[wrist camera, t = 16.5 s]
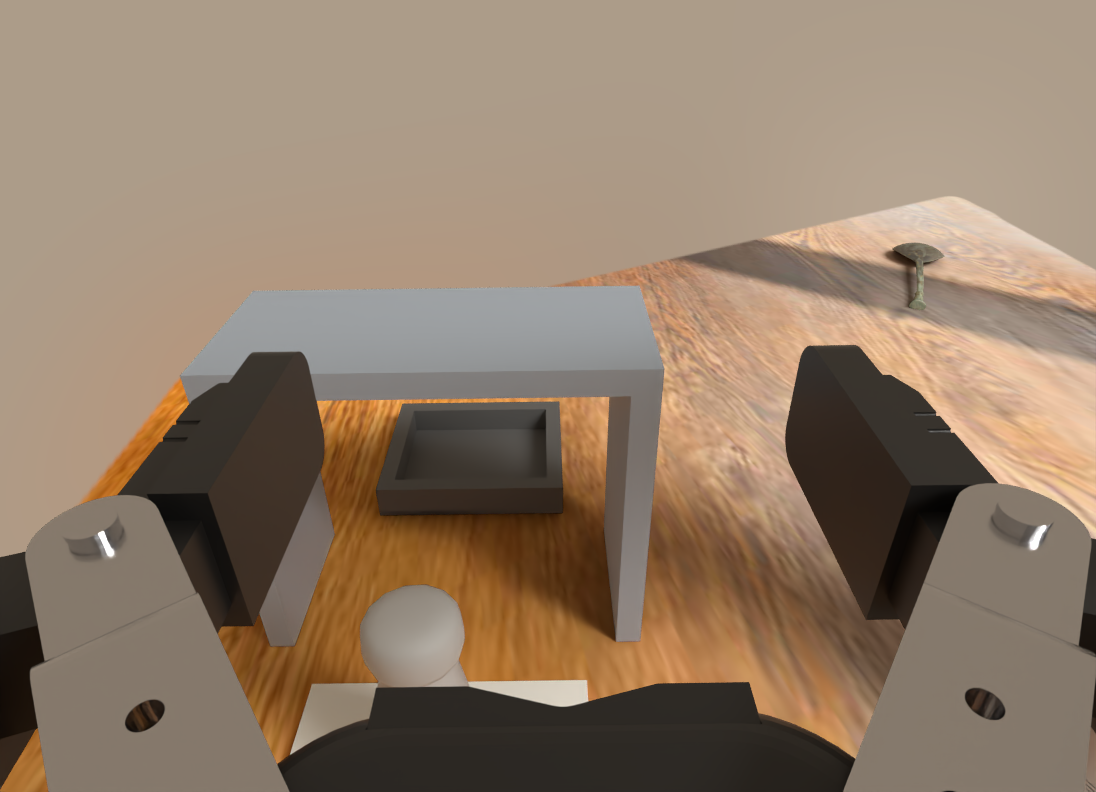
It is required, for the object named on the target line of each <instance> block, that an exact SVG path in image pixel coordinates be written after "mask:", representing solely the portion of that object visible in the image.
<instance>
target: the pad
mask: <svg viewBox="0 0 1096 792" xmlns="http://www.w3.org/2000/svg"><path fill="white" fill-rule="evenodd" d="M468 684H469V686H470V687H473V688H478V689H482V690H486V691H491V692H495V693H500V694H504V695H508V696H513V697H517V698H522V699H526V700H530V701H535V702H539V703H544V704H548V705H552V706H559V707H567V706H573V705H577V704H581V703H585V702H588V693H587V680H556V681H485V682H468ZM376 688H378V683H343V684H312V686H311V689H310V692H309V696H308V699H307V702H306V705H305V708H304V711H303V715H302V718H301V721H300V724H299V727H298V730H297V734H296V737H295V740H294V743H293V746H292V750H291V753H290V754H292V753H294V752H295V751H297V750H298V749H300V748H302V747H303V746H305V745H306V744H308V743H310V742H311V741H313V740H315V739H317V738H319V737H321V736H323V735H325V734H327V733H329V732H331V731H333V730H336V729H339V728H341V727H344V726H347V725H349V724H352V723H355V722H358V721H361V720H365V719H369V717H370V712H371V708H372V704H373V699H374V695H375V690H376Z"/></svg>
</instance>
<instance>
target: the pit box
mask: <svg viewBox="0 0 1096 792" xmlns="http://www.w3.org/2000/svg"><path fill="white" fill-rule="evenodd" d="M376 494H377V500H378V505H379V511H380V515H447V514H520V513H563V481H562V456H561V432H560V408H559V402H493V403H418V404H402V407H401V410H400V414H399V417H398V420H397V423H396V427H395V430H394V433H393V436H392V439H391V443H390V446H389V449H388V452H387V456H386V459H385V462H384V465H383V468H382V472H381V475H380V478H379V481H378V484H377V488H376Z"/></svg>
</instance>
